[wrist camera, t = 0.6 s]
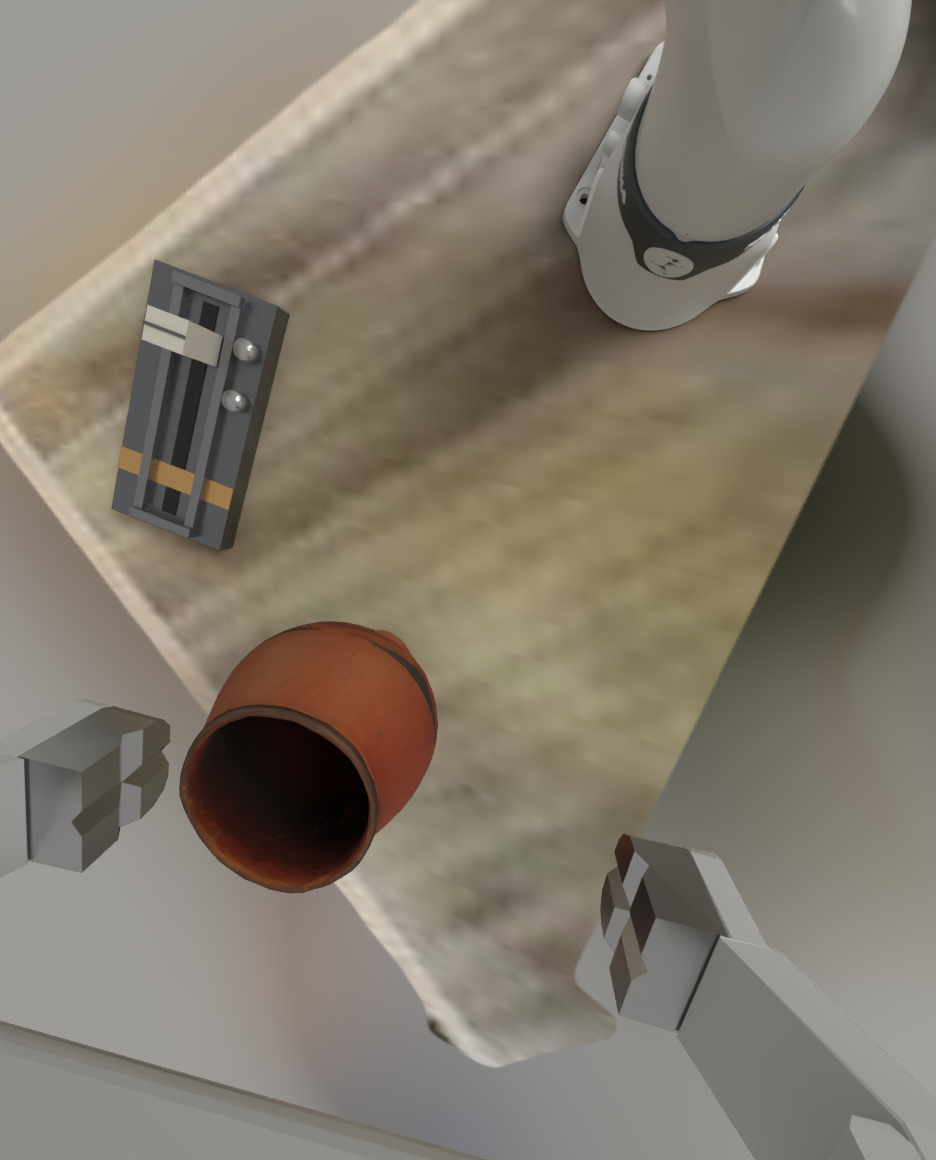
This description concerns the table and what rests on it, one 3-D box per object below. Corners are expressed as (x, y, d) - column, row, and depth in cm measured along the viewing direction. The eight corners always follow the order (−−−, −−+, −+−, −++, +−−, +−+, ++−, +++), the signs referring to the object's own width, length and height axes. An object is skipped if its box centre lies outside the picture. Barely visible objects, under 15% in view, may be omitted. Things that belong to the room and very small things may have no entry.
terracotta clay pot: (415, 559, 53) (329, 632, 29) (483, 705, 56) (458, 882, 32) (273, 620, 56) (89, 732, 32) (344, 754, 59) (227, 948, 35)
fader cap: (185, 322, 47) (146, 304, 42) (222, 336, 47) (188, 320, 42) (179, 352, 48) (140, 338, 43) (216, 366, 48) (181, 354, 43)
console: (172, 269, 49) (142, 252, 45) (289, 314, 48) (269, 300, 44) (129, 507, 55) (99, 509, 51) (232, 547, 55) (210, 552, 51)
